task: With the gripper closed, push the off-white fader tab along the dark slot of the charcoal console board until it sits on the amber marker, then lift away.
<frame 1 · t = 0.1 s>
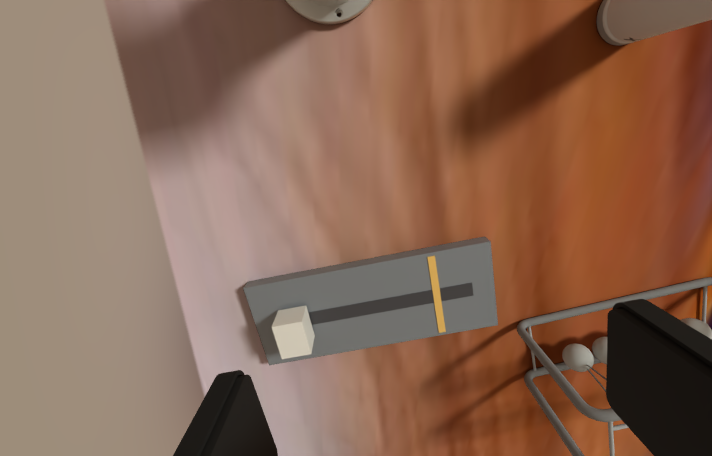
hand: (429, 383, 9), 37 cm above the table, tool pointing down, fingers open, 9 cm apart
console board: (372, 299, 49), on the table
fader tab: (294, 331, 46), point 5 cm above the table, slide at 0.0 cm
newton's cradle: (612, 326, 51), on the table
travel mug: (622, 17, 39), on the table
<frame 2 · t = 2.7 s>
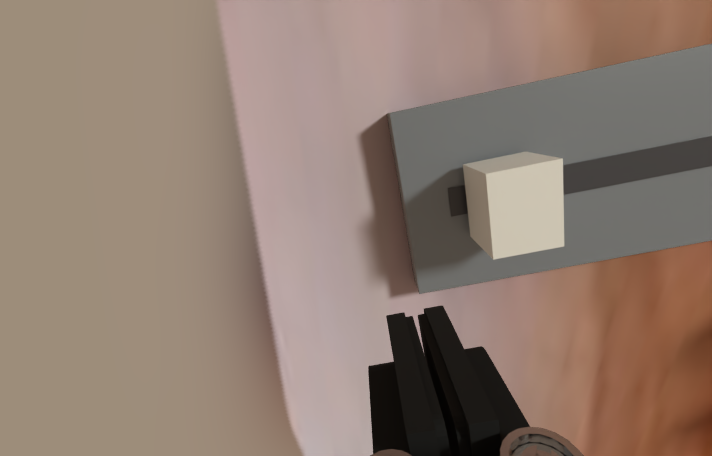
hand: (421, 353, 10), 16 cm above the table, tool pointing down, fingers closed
console board: (637, 157, 24), on the table
fader tab: (509, 202, 20), point 4 cm above the table, slide at 0.0 cm
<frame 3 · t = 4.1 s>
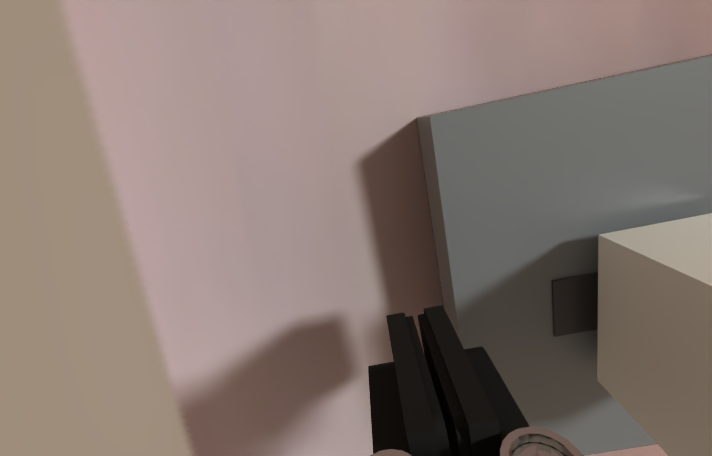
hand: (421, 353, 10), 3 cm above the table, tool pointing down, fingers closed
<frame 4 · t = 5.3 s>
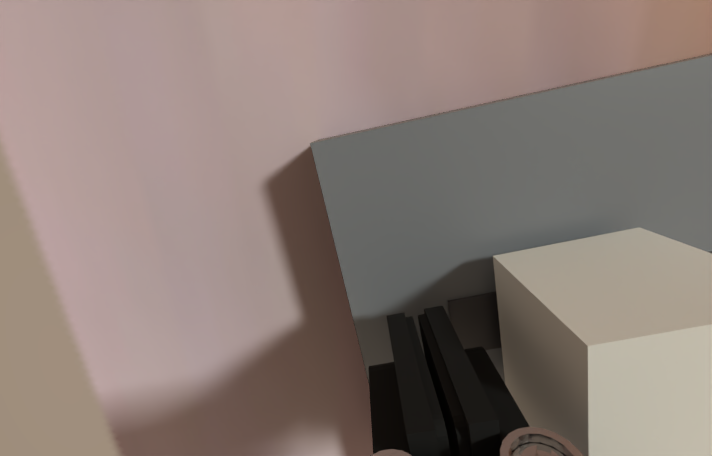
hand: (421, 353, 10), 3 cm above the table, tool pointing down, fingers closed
fader tab: (614, 362, 8), point 4 cm above the table, slide at 0.3 cm, touching gripper
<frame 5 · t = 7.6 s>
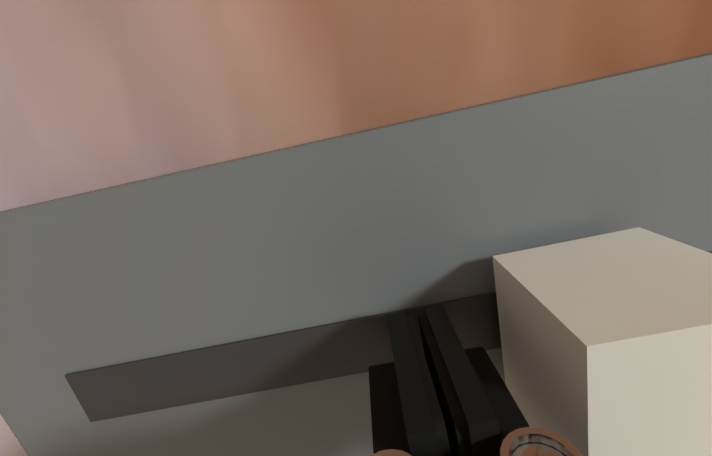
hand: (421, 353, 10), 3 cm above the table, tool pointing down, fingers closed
console board: (469, 291, 13), on the table
fader tab: (614, 362, 8), point 4 cm above the table, slide at 13.1 cm, touching gripper
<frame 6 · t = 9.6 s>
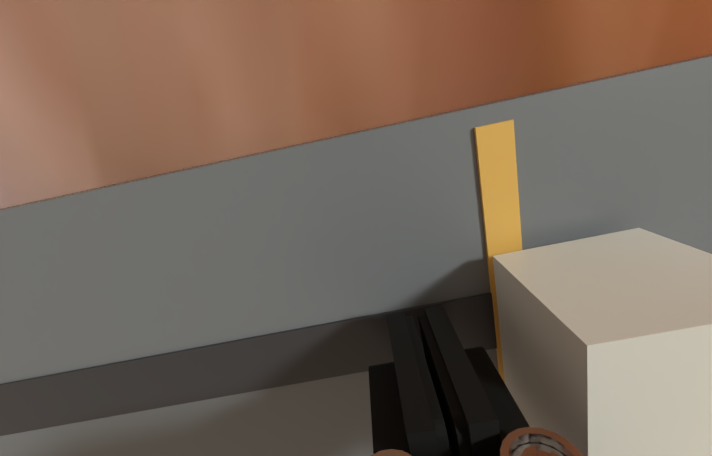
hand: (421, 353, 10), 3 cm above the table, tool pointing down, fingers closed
console board: (254, 331, 13), on the table
fader tab: (614, 362, 8), point 4 cm above the table, slide at 21.5 cm, touching gripper
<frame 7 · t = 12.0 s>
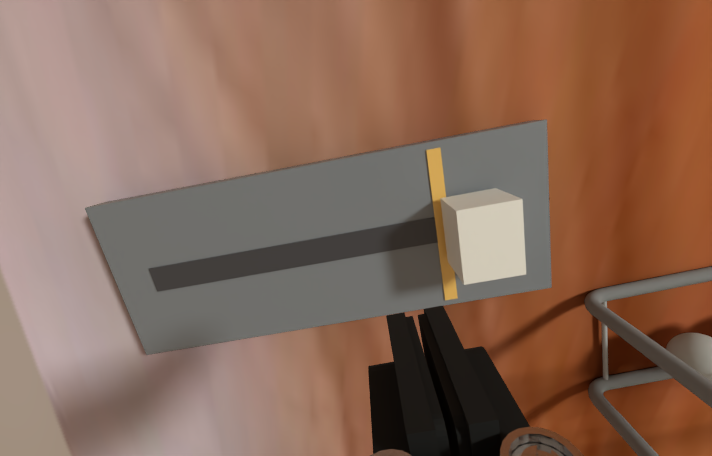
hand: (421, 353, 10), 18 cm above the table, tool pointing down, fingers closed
console board: (328, 241, 28), on the table
fader tab: (480, 233, 23), point 5 cm above the table, slide at 22.0 cm
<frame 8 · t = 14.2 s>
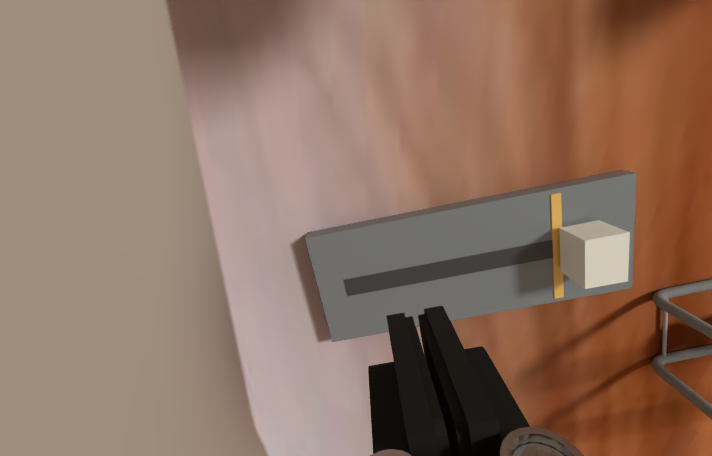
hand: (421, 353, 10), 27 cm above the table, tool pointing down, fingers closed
console board: (466, 256, 38), on the table
fader tab: (591, 253, 33), point 5 cm above the table, slide at 22.0 cm
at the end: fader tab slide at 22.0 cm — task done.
